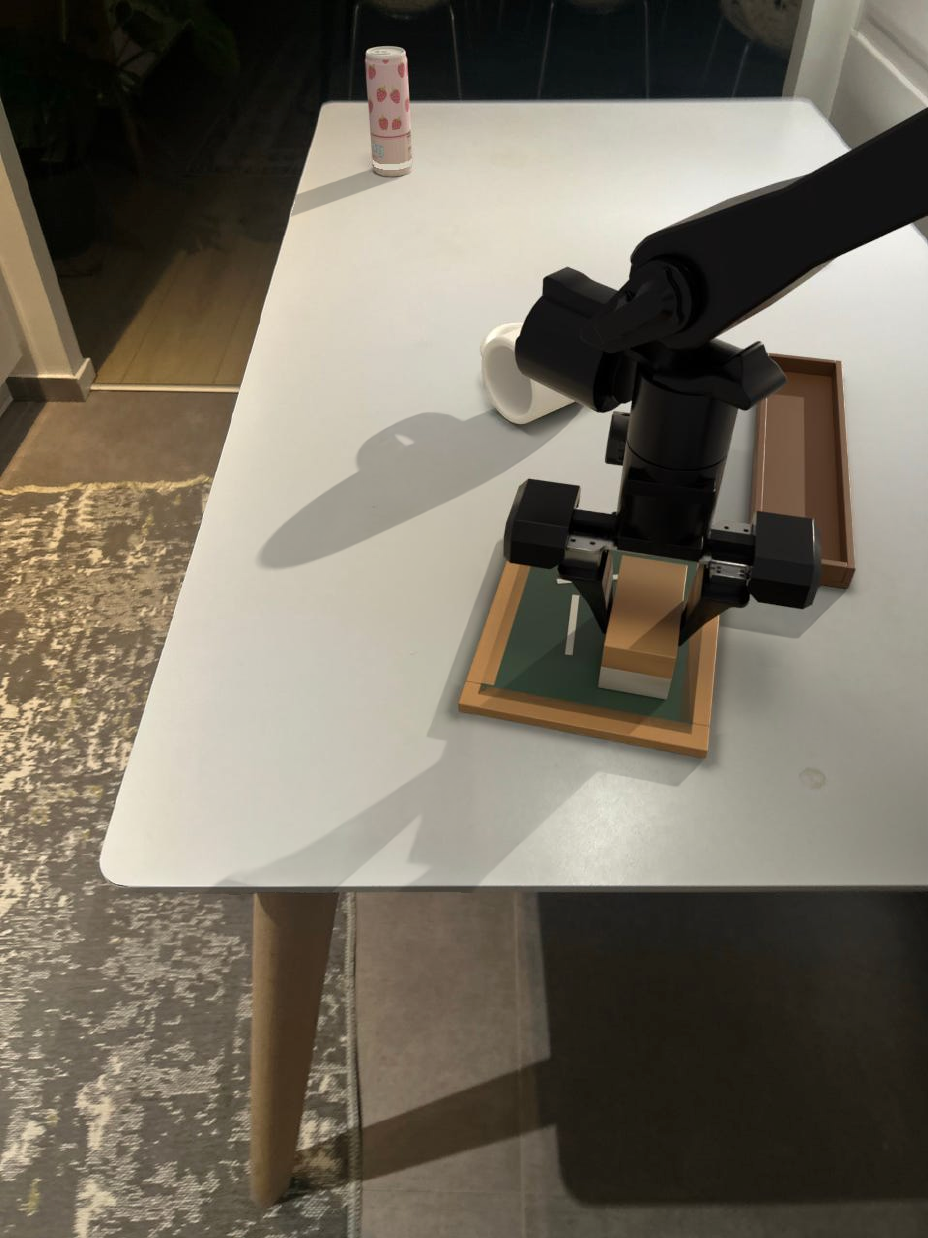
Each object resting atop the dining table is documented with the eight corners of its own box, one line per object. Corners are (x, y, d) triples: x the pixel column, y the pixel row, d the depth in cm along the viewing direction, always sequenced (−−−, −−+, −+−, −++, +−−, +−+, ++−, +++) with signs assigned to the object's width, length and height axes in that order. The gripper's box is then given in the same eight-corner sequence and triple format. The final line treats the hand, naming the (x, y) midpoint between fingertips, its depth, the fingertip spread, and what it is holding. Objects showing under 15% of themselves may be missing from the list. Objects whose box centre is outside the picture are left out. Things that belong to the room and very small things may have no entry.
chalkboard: (723, 556, 71) (725, 547, 71) (705, 758, 57) (708, 750, 57) (521, 525, 74) (521, 516, 74) (457, 711, 60) (457, 702, 60)
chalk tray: (836, 379, 90) (842, 360, 89) (848, 589, 68) (856, 568, 67) (758, 370, 91) (762, 351, 90) (746, 573, 70) (752, 553, 68)
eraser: (615, 596, 67) (622, 554, 64) (678, 607, 66) (687, 564, 63) (597, 687, 61) (604, 645, 58) (666, 700, 60) (676, 658, 57)
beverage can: (366, 167, 133) (357, 48, 123) (402, 160, 135) (395, 43, 125) (383, 179, 130) (374, 58, 119) (419, 172, 132) (414, 52, 121)
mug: (614, 402, 87) (624, 323, 82) (534, 439, 83) (538, 358, 77) (532, 353, 94) (535, 277, 89) (454, 385, 90) (453, 307, 84)
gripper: (844, 389, 56) (783, 580, 67) (541, 353, 59) (530, 541, 70) (853, 497, 48) (782, 693, 59) (504, 449, 51) (498, 643, 62)
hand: (642, 635), depth 63 cm, fingers closed on eraser, 4 cm apart
